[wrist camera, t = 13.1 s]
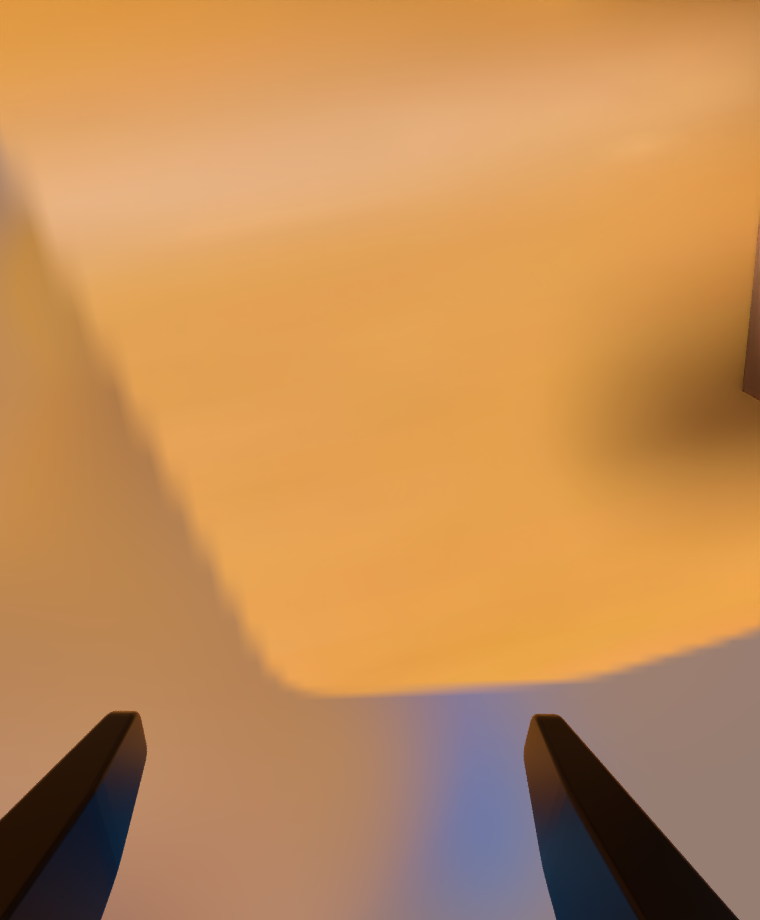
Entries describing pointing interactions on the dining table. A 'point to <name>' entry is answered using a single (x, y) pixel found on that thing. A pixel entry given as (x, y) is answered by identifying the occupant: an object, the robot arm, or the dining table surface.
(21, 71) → the dining table surface
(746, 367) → the shelf ledge
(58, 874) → the robot arm
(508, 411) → the dining table surface
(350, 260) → the dining table surface
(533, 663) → the dining table surface
